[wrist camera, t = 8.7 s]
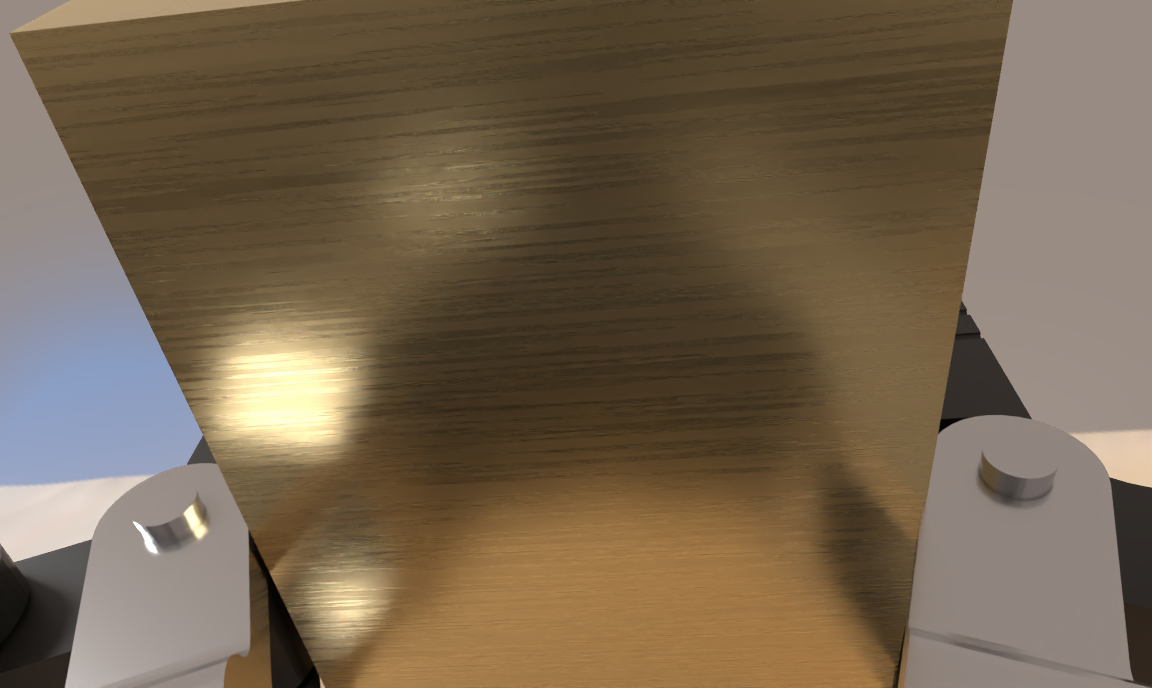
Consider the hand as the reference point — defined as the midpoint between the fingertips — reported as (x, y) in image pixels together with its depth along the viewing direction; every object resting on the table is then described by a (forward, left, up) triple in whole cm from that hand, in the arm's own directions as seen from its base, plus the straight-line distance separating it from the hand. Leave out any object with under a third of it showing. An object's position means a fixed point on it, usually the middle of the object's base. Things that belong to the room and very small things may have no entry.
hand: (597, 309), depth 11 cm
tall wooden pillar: (0, -3, -7) cm, 7 cm away
